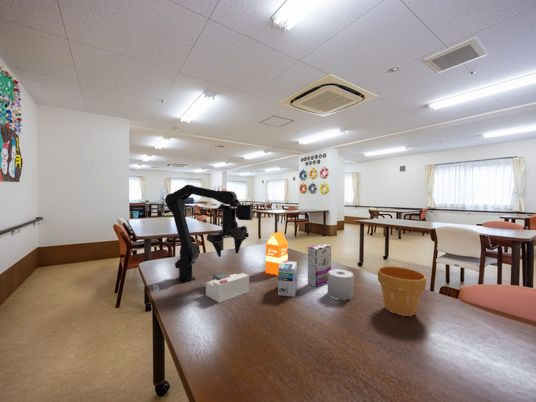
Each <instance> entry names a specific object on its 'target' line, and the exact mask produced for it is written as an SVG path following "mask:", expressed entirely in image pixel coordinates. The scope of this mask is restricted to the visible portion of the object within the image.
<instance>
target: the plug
mask: <svg viewBox="0 0 536 402" xmlns="http://www.w3.org/2000/svg"><path fill="white" fill-rule="evenodd" d="M228 277H230V276H229V275H228V274H225V273H223V272H218V273H214V274H212V280H215V279H216V280H221V279H224V278H228Z"/></svg>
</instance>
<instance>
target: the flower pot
mask: <svg viewBox="0 0 536 402" xmlns="http://www.w3.org/2000/svg"><path fill="white" fill-rule="evenodd" d="M377 281H378V282H379V284H380V287H381V292H382V299H383V304H384V308H385V307H386V308H387V309H388V310H390V311H392V312H394V313H398V314H403V315H412V314H416V312H417V310H418V309H417V308H418V306H419V303H420V299H421V296H422V292H423V291H425V290H426V287H427V277H426V275H425V274H423V273H422V272H419V271H417V270H414V269H410V268H407V267H400V266H381V267H379V268H378V269H377ZM386 308H385V309H386ZM387 309H386V310H387ZM388 310H387V311H388Z"/></svg>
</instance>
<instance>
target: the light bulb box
mask: <svg viewBox="0 0 536 402" xmlns="http://www.w3.org/2000/svg"><path fill="white" fill-rule="evenodd" d="M277 279H278V280H277V285H278V286H277V296H285V297H294V298H295V296H296V294H297V293H296V292H297V287H298V262H297V261H289V260H287V261H282V262H281V264H280V266H279V268H278V275H277Z"/></svg>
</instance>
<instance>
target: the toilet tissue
mask: <svg viewBox="0 0 536 402" xmlns="http://www.w3.org/2000/svg"><path fill="white" fill-rule="evenodd" d="M354 276H355V275H354V274H353V272H352V271H349V270H345V269H338V268H336V269H331V270H330V271H329V272H328V282H327V295H328V294H329V295H330V296H332V297H334V298H333V299H335V298H338V299H349V298H353V297H354ZM329 295H328V296H329ZM330 296H329V297H330ZM352 296H353V297H352ZM332 297H331V298H332ZM338 299H337V300H338ZM349 300H350V299H349Z"/></svg>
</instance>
